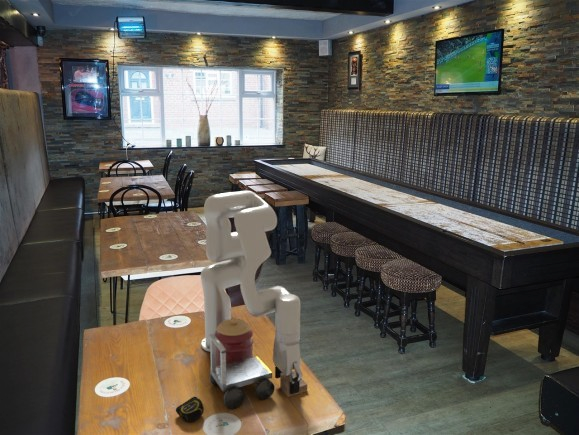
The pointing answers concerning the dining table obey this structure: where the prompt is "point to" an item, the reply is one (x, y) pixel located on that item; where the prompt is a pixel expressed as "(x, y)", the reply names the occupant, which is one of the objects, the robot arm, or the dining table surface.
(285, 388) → the block
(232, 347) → the canister
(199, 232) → the dining table surface
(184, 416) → the tape measure
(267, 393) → the trolley
